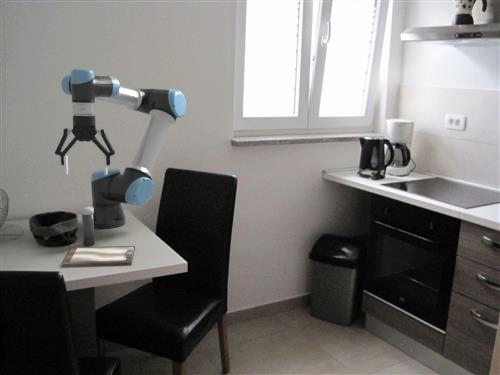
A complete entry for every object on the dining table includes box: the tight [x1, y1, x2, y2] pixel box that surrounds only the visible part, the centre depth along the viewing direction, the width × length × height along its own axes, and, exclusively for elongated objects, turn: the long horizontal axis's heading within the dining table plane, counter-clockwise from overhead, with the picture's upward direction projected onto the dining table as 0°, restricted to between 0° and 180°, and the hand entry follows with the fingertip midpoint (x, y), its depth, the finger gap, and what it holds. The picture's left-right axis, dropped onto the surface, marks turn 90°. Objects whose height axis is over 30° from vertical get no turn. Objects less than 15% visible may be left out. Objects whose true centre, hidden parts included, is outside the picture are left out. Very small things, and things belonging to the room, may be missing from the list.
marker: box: [81, 206, 96, 247], centre depth 176 cm, size 4×4×14 cm
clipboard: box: [62, 245, 136, 268], centre depth 165 cm, size 16×22×2 cm
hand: (86, 174), depth 171 cm, fingers open, 13 cm apart
